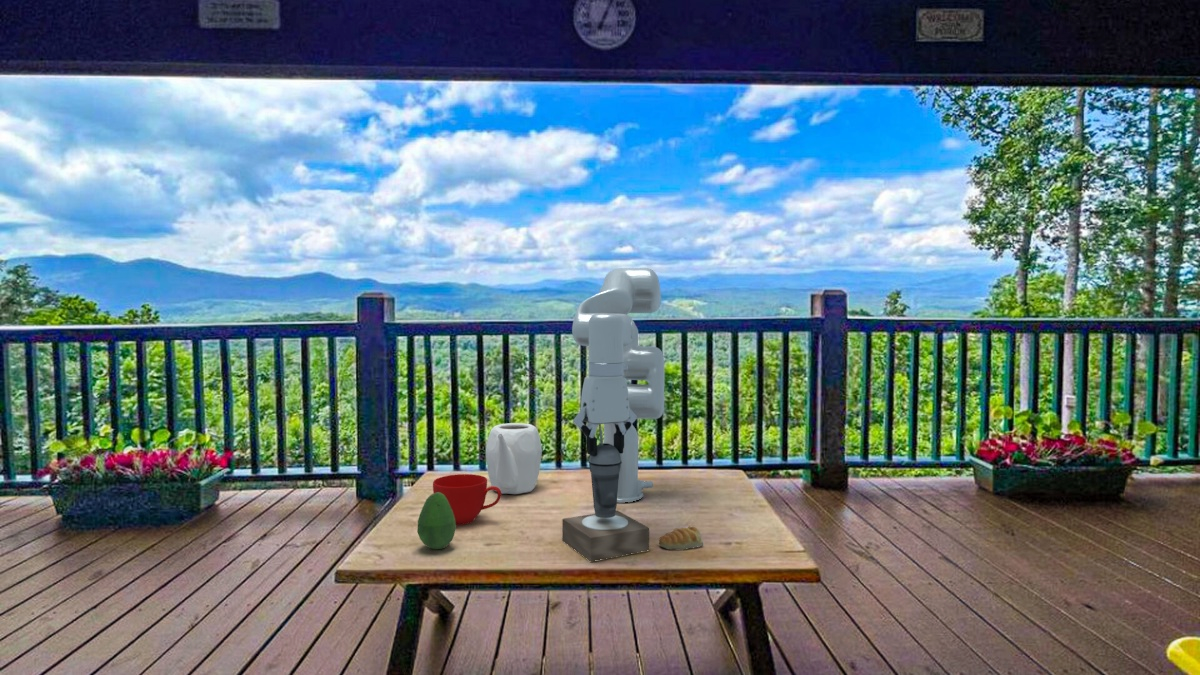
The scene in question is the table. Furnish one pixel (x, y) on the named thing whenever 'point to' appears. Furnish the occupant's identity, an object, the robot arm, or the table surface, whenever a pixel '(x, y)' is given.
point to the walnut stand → (605, 535)
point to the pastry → (681, 538)
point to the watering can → (513, 457)
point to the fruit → (436, 522)
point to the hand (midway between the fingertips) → (605, 452)
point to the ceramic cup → (465, 495)
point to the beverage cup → (605, 478)
